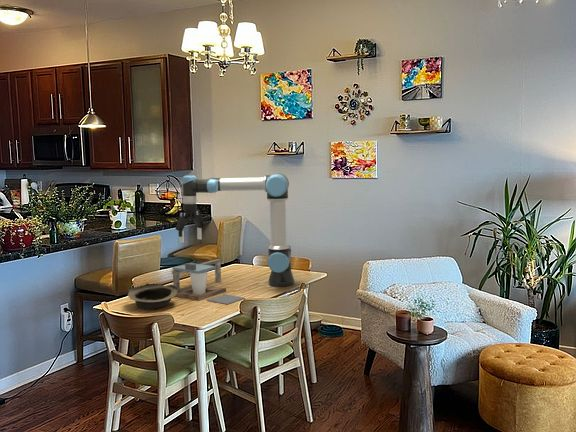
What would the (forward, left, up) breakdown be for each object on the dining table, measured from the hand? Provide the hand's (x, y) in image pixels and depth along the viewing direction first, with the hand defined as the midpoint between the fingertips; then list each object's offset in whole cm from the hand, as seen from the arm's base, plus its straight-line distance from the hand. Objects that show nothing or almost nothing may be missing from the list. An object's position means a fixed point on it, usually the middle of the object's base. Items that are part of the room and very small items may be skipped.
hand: (190, 240), depth 308 cm
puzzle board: (-10, -3, -28) cm, 29 cm away
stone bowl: (-8, +36, -28) cm, 46 cm away
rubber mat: (-32, +8, -28) cm, 43 cm away
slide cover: (-9, +8, -14) cm, 18 cm away
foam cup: (-13, +8, -28) cm, 32 cm away
